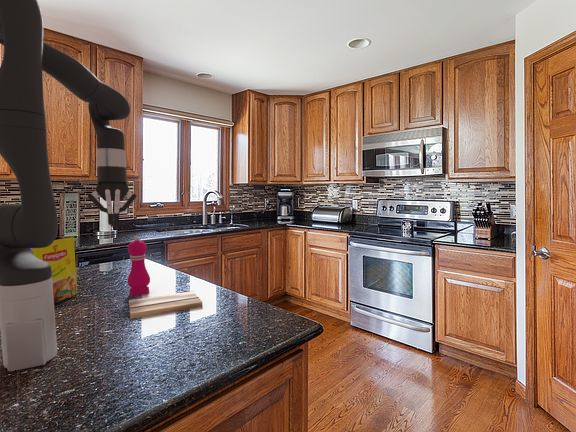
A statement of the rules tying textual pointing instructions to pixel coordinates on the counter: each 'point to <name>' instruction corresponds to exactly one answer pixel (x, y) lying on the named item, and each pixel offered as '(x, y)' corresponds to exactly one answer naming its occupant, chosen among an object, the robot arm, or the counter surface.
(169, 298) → the ash plank
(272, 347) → the counter surface
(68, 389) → the counter surface
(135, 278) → the pepper mill
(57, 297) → the food package
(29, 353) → the robot arm
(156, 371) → the counter surface
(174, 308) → the oak plank
